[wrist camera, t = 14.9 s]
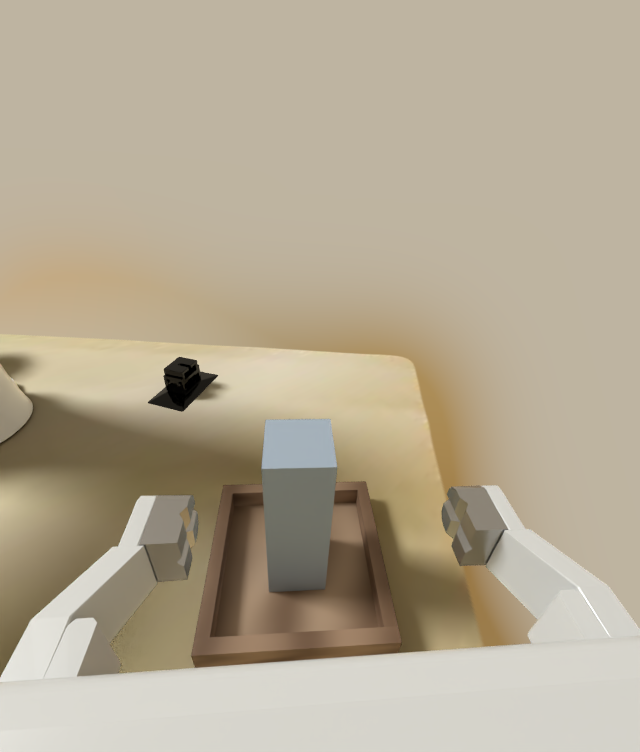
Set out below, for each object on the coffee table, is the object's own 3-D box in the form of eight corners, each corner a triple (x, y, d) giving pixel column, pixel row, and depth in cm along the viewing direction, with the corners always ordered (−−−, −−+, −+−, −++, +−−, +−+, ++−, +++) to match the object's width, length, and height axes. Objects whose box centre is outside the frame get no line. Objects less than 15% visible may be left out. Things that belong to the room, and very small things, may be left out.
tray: (196, 671, 25) (191, 656, 24) (225, 501, 37) (223, 485, 36) (396, 657, 26) (401, 642, 25) (363, 498, 38) (365, 481, 37)
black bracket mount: (181, 422, 48) (175, 393, 45) (134, 410, 49) (125, 382, 47) (228, 374, 58) (225, 348, 55) (187, 365, 59) (183, 340, 57)
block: (268, 592, 29) (261, 468, 22) (271, 540, 33) (265, 419, 25) (325, 589, 30) (337, 467, 22) (321, 538, 33) (330, 419, 26)
